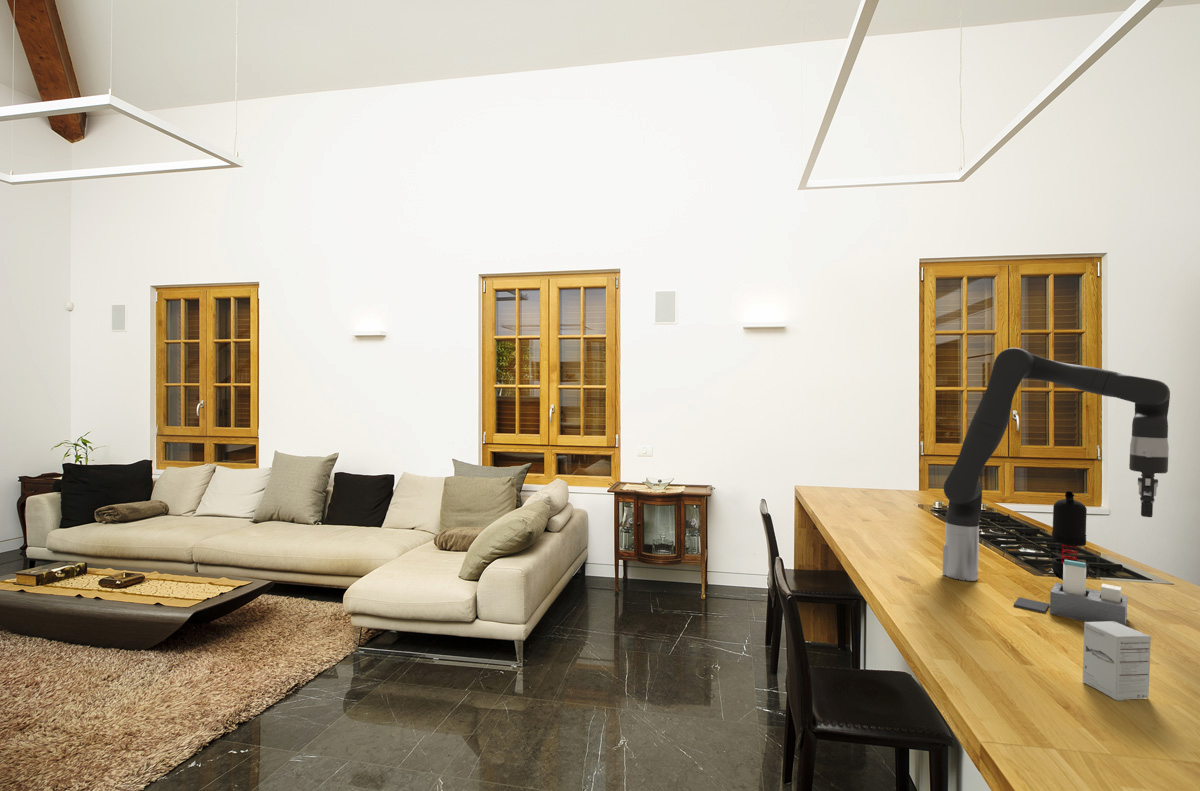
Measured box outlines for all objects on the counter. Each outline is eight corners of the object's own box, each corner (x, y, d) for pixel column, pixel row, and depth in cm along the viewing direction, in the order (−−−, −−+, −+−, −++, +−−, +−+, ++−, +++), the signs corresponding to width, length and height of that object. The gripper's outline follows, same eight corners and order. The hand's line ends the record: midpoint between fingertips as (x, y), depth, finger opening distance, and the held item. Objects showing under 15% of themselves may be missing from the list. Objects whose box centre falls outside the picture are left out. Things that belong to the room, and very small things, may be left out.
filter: (1087, 594, 173) (1090, 493, 173) (1049, 586, 179) (1051, 489, 179) (1089, 583, 183) (1091, 488, 183) (1053, 576, 189) (1055, 484, 189)
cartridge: (1061, 613, 157) (1062, 561, 157) (1063, 608, 161) (1064, 558, 161) (1084, 618, 154) (1085, 565, 154) (1085, 613, 157) (1087, 561, 157)
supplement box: (1080, 682, 119) (1082, 621, 119) (1114, 681, 120) (1115, 620, 120) (1115, 701, 112) (1117, 636, 112) (1150, 700, 113) (1152, 635, 112)
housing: (1049, 613, 157) (1050, 591, 156) (1055, 603, 164) (1055, 582, 164) (1124, 630, 146) (1125, 606, 146) (1126, 618, 154) (1127, 596, 154)
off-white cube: (1100, 605, 152) (1101, 586, 152) (1101, 602, 155) (1102, 583, 155) (1120, 609, 149) (1120, 590, 149) (1120, 606, 152) (1121, 587, 152)
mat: (1013, 606, 162) (1013, 604, 162) (1018, 599, 168) (1018, 597, 168) (1045, 613, 157) (1045, 611, 157) (1049, 605, 163) (1049, 603, 163)
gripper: (1130, 451, 163) (1128, 508, 164) (1129, 454, 153) (1127, 515, 153) (1167, 453, 158) (1165, 512, 158) (1169, 457, 148) (1166, 520, 148)
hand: (1146, 514), depth 156 cm, fingers open, 8 cm apart
